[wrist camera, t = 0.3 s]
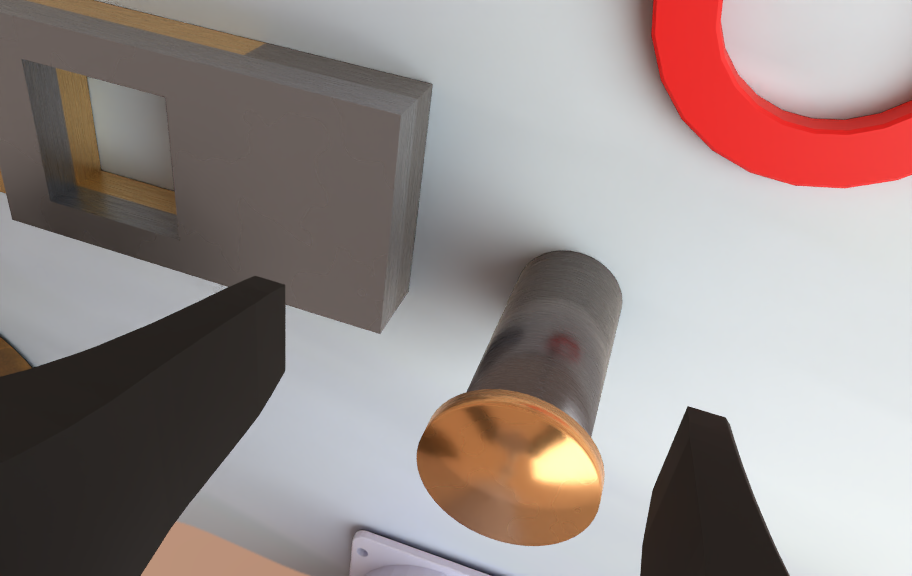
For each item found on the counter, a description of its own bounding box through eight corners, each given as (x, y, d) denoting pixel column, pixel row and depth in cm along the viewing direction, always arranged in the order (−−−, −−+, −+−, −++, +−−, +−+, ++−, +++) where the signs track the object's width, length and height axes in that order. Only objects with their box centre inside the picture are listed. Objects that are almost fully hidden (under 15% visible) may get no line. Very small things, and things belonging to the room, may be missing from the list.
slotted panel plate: (408, 291, 25) (380, 333, 23) (-77, 146, 28) (-137, 173, 26) (432, 84, 21) (400, 115, 19) (-138, -57, 24) (-214, -43, 22)
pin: (618, 369, 24) (576, 568, 18) (491, 330, 25) (408, 509, 19) (657, 258, 22) (622, 445, 16) (513, 219, 22) (427, 383, 16)
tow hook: (1122, 80, 17) (1021, -399, 13) (1718, 624, 7) (1973, -808, 3) (733, 213, 21) (578, -121, 17) (731, 665, 11) (362, 92, 7)
